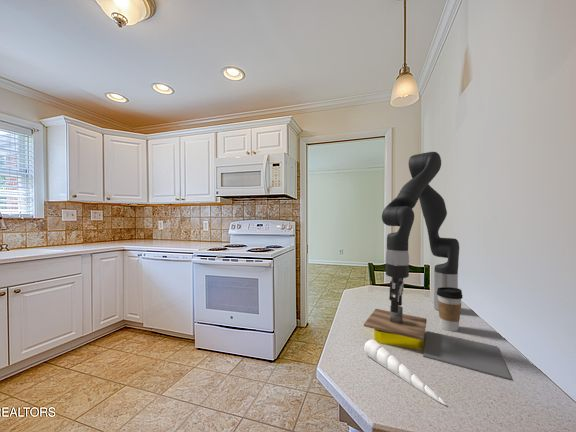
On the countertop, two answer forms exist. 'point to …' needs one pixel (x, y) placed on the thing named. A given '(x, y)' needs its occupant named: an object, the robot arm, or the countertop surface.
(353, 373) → the countertop surface
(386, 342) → the element tile
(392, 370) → the unicorn horn
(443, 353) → the rubber mat
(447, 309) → the coffee cup
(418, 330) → the walnut lid
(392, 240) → the robot arm
